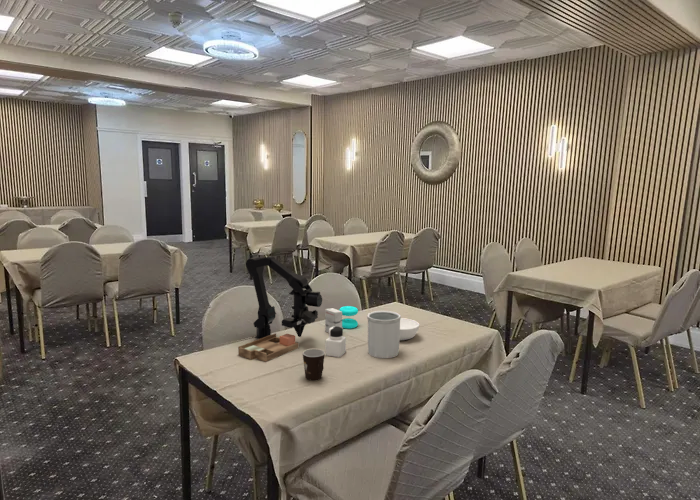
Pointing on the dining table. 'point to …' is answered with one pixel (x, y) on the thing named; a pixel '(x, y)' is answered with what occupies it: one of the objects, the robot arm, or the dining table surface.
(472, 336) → the dining table surface
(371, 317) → the utensil holder
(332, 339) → the medicine bottle
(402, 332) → the bowl
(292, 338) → the block
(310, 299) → the robot arm
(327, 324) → the ink box
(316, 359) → the coffee mug
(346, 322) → the donuts
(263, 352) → the brown compartment tray
